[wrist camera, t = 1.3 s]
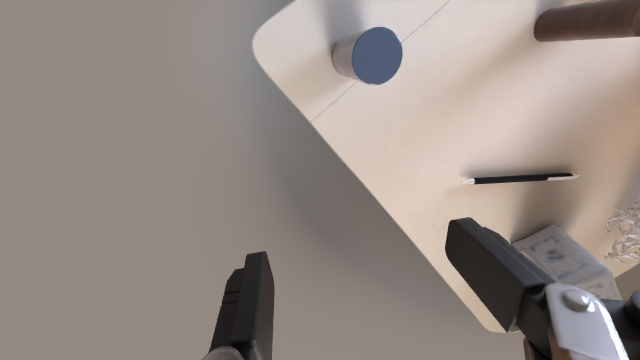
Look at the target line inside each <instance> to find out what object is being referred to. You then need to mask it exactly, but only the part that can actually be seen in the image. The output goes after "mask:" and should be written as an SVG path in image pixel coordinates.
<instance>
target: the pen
mask: <svg viewBox="0 0 640 360" xmlns="http://www.w3.org/2000/svg"><path fill="white" fill-rule="evenodd" d="M575 177H580V175H579V174H575V175H574V174H573V173H562V174H543V175H523V176H504V177H485V178H471V179H468V180H464V181H462V183H468V184H489V183H507V182H525V181H543V180H547V181H550V180H567V179H575Z"/></svg>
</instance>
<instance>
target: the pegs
mask: <svg viewBox="0 0 640 360" xmlns="http://www.w3.org/2000/svg"><path fill="white" fill-rule="evenodd" d="M534 35H535V38H536V39H537V40H538V41H540V42H552V41H570V40H588V39H607V38H625V37H640V0H599V1H594V2H588V3H583V4H577V5H571V6H566V7H560V8H554V9H550V10H548V11H546V12H544V13H543V14H542V15H541V16H540V18H539V19H538V20H537V22H536V25H535V28H534Z"/></svg>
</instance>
